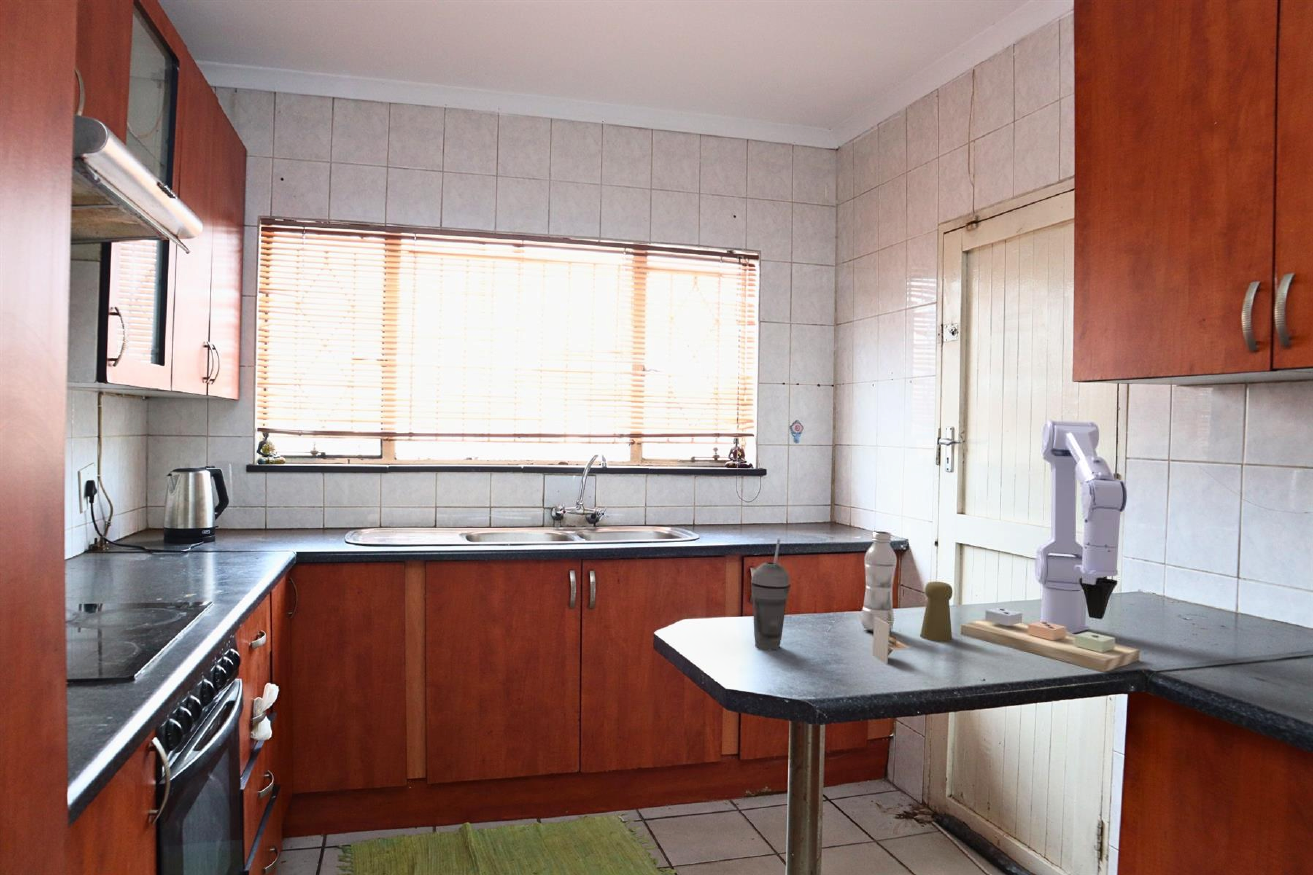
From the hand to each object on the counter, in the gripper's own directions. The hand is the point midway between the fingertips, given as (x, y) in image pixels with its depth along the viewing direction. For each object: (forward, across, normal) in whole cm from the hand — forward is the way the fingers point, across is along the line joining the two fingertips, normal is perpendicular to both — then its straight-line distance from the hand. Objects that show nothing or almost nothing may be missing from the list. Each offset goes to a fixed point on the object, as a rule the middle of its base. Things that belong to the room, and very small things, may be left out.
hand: (1095, 617), depth 154 cm
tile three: (+5, -2, -9) cm, 11 cm away
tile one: (+5, 0, 0) cm, 5 cm away
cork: (+8, +9, -26) cm, 29 cm away
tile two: (+5, -4, -18) cm, 19 cm away
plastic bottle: (+8, +14, -36) cm, 40 cm away
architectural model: (+8, +31, -26) cm, 42 cm away
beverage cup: (+8, +41, -45) cm, 61 cm away
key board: (+8, -2, -9) cm, 12 cm away
